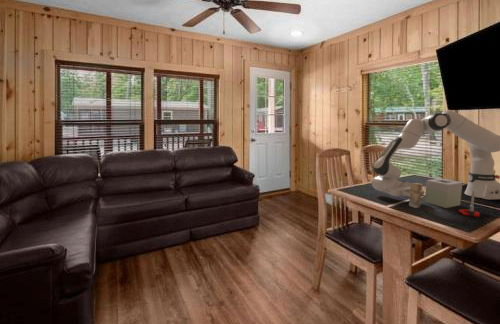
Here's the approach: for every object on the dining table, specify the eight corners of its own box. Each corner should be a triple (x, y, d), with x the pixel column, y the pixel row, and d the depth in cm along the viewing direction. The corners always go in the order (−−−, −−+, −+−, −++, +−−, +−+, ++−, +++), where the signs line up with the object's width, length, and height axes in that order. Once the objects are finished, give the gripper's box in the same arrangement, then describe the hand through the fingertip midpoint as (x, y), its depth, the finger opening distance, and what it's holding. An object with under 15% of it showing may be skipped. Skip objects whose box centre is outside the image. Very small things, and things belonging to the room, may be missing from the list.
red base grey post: (457, 210, 149) (460, 215, 141) (460, 186, 147) (463, 190, 139) (477, 213, 145) (481, 217, 137) (480, 188, 143) (484, 192, 135)
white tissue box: (438, 199, 167) (440, 178, 165) (459, 205, 156) (462, 182, 154) (424, 202, 162) (426, 180, 160) (445, 208, 151) (448, 184, 149)
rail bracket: (413, 205, 157) (415, 182, 155) (420, 207, 153) (422, 184, 151) (408, 205, 156) (410, 183, 154) (415, 208, 152) (417, 184, 150)
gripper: (383, 184, 161) (404, 190, 148) (408, 181, 168) (430, 186, 156) (382, 195, 162) (403, 201, 149) (407, 191, 169) (429, 197, 157)
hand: (417, 193), depth 153 cm, fingers open, 8 cm apart
